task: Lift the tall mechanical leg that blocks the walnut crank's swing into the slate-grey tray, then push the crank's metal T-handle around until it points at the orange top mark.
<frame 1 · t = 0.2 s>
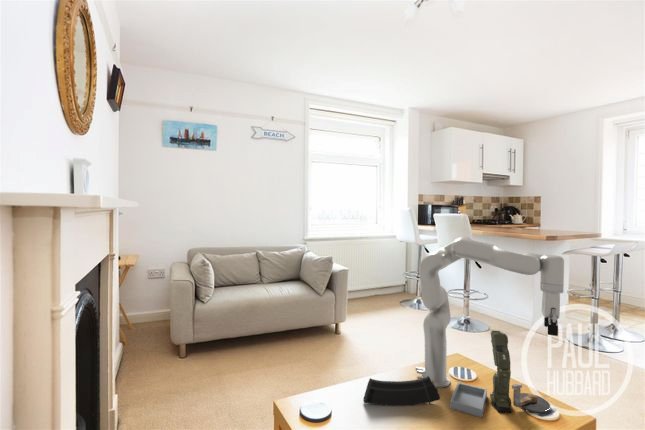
hand: (550, 330, 136), 31 cm above the table, tool pointing down, fingers open, 9 cm apart
crank base: (532, 404, 140), on the table
magazine: (401, 404, 142), on the table
tray: (469, 402, 142), on the table
crank: (524, 392, 138), point 6 cm above the table, hinge at 55.0°
mechanical leg: (500, 404, 141), on the table
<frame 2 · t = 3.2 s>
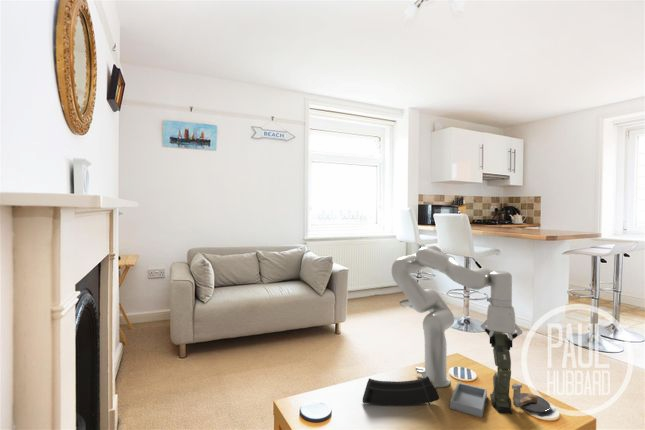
hand: (500, 346, 140), 24 cm above the table, tool pointing down, fingers closed on mechanical leg, 5 cm apart
mechanical leg: (500, 404, 141), on the table, touching gripper
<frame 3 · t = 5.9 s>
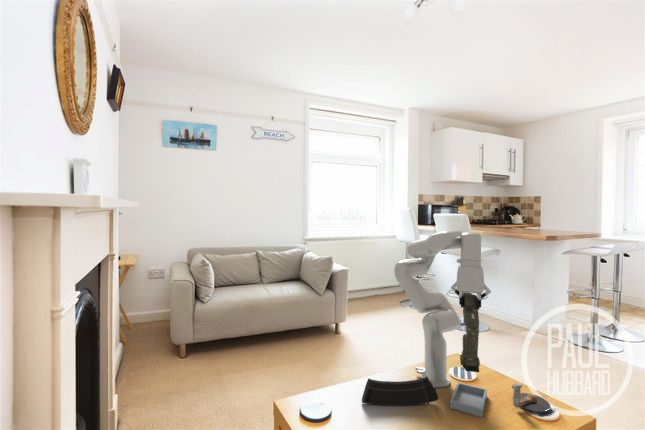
hand: (470, 307, 141), 39 cm above the table, tool pointing down, fingers closed on mechanical leg, 5 cm apart
mechanical leg: (469, 364, 142), point 16 cm above the table, touching gripper
when the fingers open (25 cm above the table, at t = 9.1 s): mechanical leg stays where it is, resting on tray.
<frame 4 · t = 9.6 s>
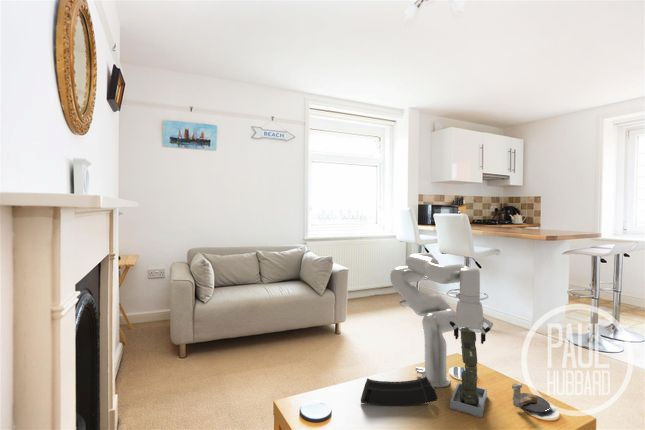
hand: (469, 340, 141), 26 cm above the table, tool pointing down, fingers open, 9 cm apart
mechanical leg: (468, 401, 142), resting on tray
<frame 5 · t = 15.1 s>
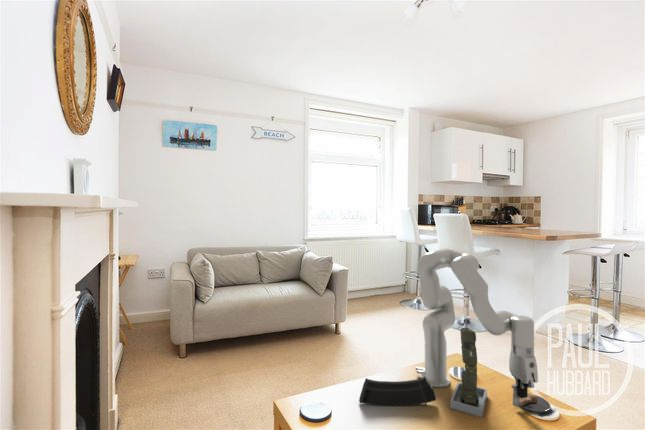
hand: (522, 396, 133), 7 cm above the table, tool pointing down, fingers closed
crank: (524, 392, 138), point 6 cm above the table, hinge at 53.6°, touching gripper
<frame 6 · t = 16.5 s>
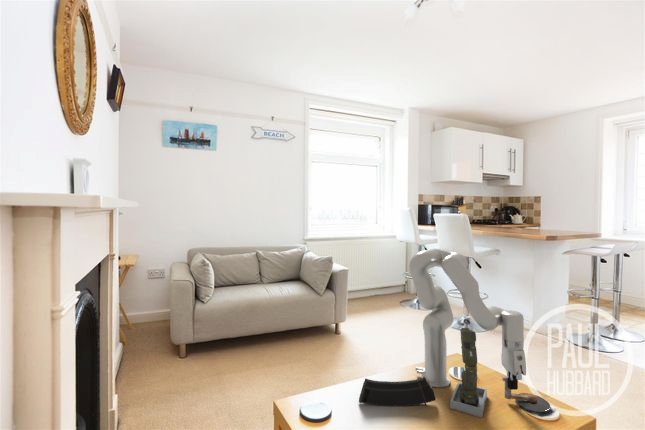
hand: (512, 388, 139), 7 cm above the table, tool pointing down, fingers closed
crank: (519, 388, 141), point 6 cm above the table, hinge at 19.2°, touching gripper
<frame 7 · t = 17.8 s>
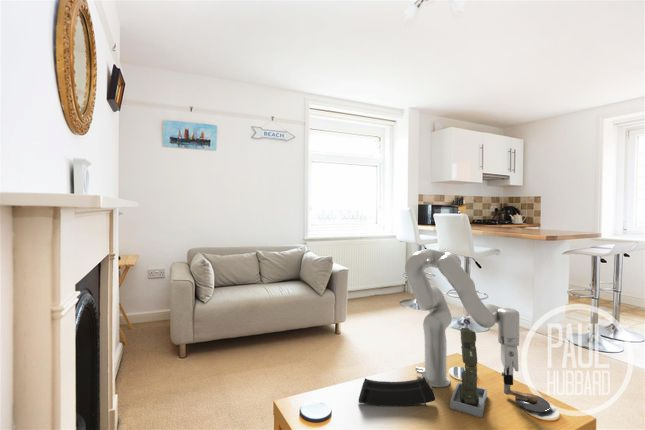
hand: (508, 383, 142), 7 cm above the table, tool pointing down, fingers closed
crank: (519, 386, 143), point 6 cm above the table, hinge at -4.7°
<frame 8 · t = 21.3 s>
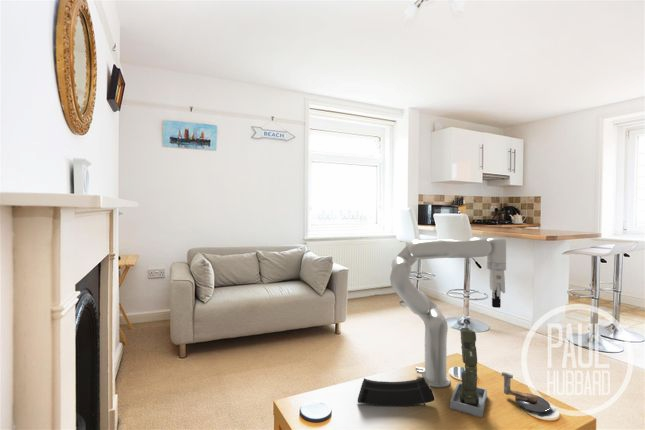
hand: (496, 306, 155), 35 cm above the table, tool pointing down, fingers closed
at the end: mechanical leg 0.4 cm off-centre on the tray, point 0.4 cm above the tray's base; mechanical leg tilted 0°; crank at -5° (first picture: +55°) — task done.
